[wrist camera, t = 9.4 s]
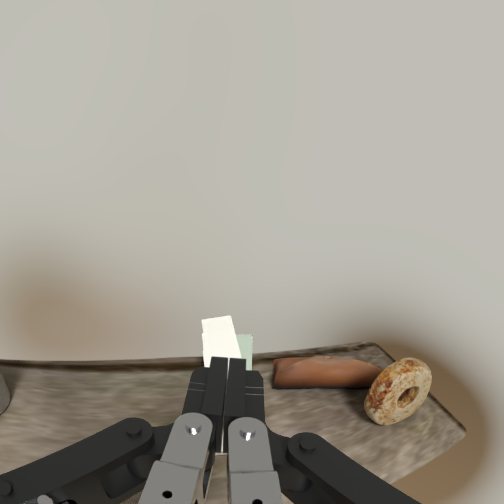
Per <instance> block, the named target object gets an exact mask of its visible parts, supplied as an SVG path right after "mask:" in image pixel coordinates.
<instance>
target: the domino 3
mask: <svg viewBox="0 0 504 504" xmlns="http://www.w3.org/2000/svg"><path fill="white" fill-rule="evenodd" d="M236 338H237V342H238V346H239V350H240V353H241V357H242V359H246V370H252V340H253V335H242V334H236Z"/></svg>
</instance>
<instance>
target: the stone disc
mask: <svg viewBox="0 0 504 504" xmlns="http://www.w3.org/2000/svg"><path fill="white" fill-rule="evenodd" d="M431 381H432V375H431V371H430V369H429V367H428V366H427V365H426V364H425V363H424V362H422V361H421V360H419V359H415V358H404V359H400V360H398V361H396V362H394V363H392V364H391V365H389V366H388V367H386V368H385V369H384V370H383V371H382V372H381V373H380V374H379V375H378V376H377V378H376V379H375V381H374V382H373V384H372V385H371V387H370V389H369V393H368V394H367V396H366V399H365V402H364V409H365V412H366V413H367V415H368V417H370V418H371V419H372V420H373V421H374V422H375V423H377V424H380V425H390V424H394V423H397V422H399V421H401V420H403V419H405V418H407V417H409V416H410V415H412V414H413V413H414V412H415V411H416V410H417V409H418V408H419V407H420V405H421V404H422V403H423V402H424V400H425V398H426V397H427V394H428V392H429V389H430V386H431Z"/></svg>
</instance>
